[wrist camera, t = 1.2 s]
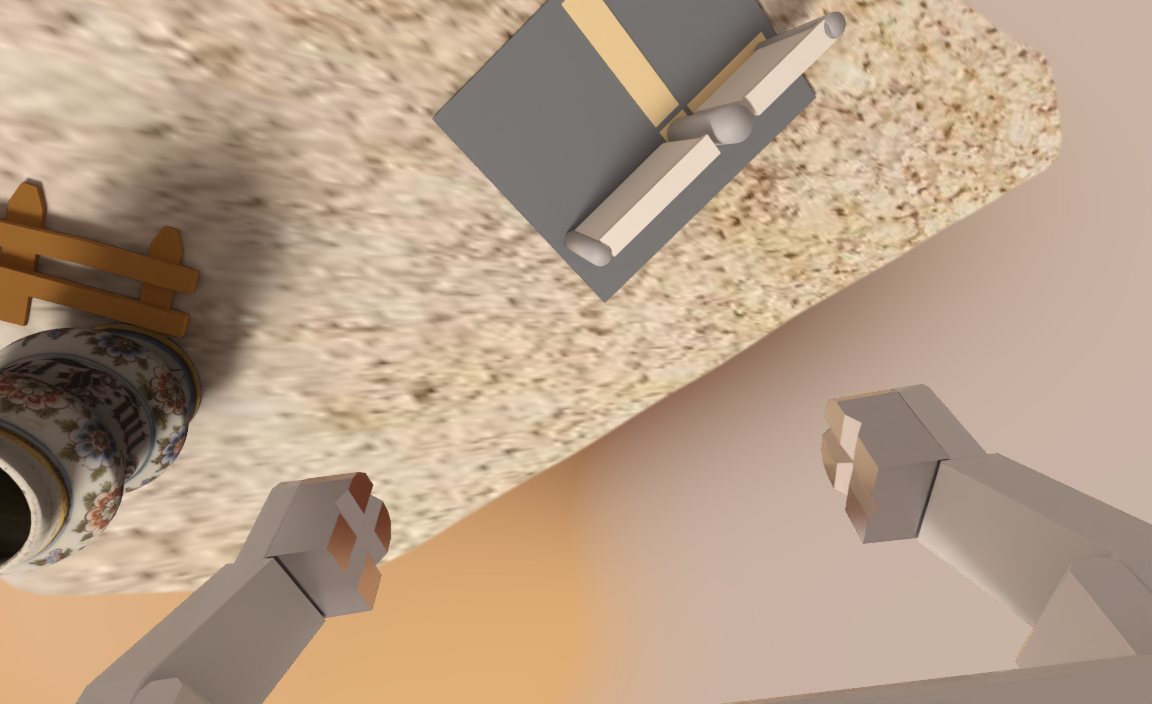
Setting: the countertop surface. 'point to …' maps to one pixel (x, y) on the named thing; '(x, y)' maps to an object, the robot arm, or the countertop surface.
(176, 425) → the apothecary jar
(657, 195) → the beige rectangular panel
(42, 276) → the decorative fence
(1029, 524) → the robot arm
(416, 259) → the countertop surface
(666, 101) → the mat
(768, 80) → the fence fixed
